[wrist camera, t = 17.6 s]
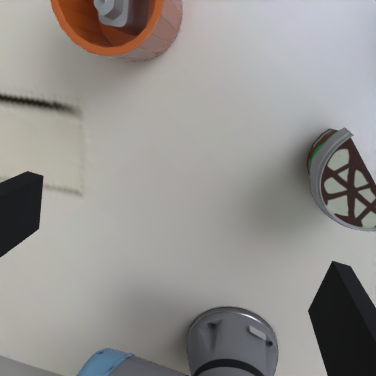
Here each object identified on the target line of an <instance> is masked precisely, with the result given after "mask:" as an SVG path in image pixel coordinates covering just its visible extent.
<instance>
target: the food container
mask: <svg viewBox="0 0 376 376" xmlns="http://www.w3.org/2000/svg"><path fill="white" fill-rule="evenodd" d="M352 136H354V135H353V134H351V133H350V131H349V130H347V129H346V128H345V127H344V128H343V129H341V130H339V131H338V130H334V129H329V130H327V131H326V132H324V133H323V134H321V135H320V136H319V138H318V139H317V140H316V141H315V142H314V143H313V145H312V147H311V149H310V151H309V153H308V159H307V168H308V173H309V175H310V188H311V192H312V196H313V198H314V200H315V202H316V204H317V205H318V207H319V208H320V209H321V210H322V211H323V212H324V213H325V214H326V215H327V216H328V217H330V218H331V219H332V220H334V221H336V222H337V223H339V224H341V225H343V226H345V227H348V228H351V229H355V230H361V231H373V232H374V231H376V184H375V182H374V180H373V179H372V177H371V175H370V173H369V171H368V170H367V168H366V166H365V164H364V162H363V160H362V158H361V156H360V154H359V152H358V150H357V149H356V147H355V145H354V143H353V141H352V139H351V137H352Z"/></svg>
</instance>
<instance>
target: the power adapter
mask: <svg viewBox="0 0 376 376" xmlns="http://www.w3.org/2000/svg"><path fill="white" fill-rule="evenodd" d="M94 6H95V7H96V9H97V10H98V11H99V14H98V15H99V20H100V22H101V23H103V24H105V25H107V26H110V27H112V28H114V29H117V30H119V31H121V32H124V33H126V34H131V35H136V36H138V35H139V34H140V33H141V32H142V31H143V30H144V29H145V28H146V24H147V15H148V7H149V0H94Z"/></svg>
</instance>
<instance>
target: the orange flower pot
mask: <svg viewBox="0 0 376 376" xmlns="http://www.w3.org/2000/svg"><path fill="white" fill-rule="evenodd" d="M51 5H52V9H53V11H54V13H55V15H56V18H57V20H58V22H59V24H60V26H61V28H62V29H63V30H64V31H65V32H66V34H67V35H68V36H69V37H70V38H71V40H72V41H73V42H74V43H76V44H77V45H79V46H81V47H82V48H84V49H85V50H87V51H88V52H91V53H95V54H99V55H102V56H107V57H112V58H117V59H123V60H128V61H134V62H135V61H147V60H151V59H153V58H155V57H157V56H159V55H161V54H162V53H163V52H165V51H166V50H167V49H168V48H169V47H170V45H171V44H172V43H173V41H174V39H175V38H176V36H177V34H178V31H179V28H180V25H181V19H182V1H181V0H149V7H148V15H147V24H146V28H145V29H144V30H143V31H142V32H141V33H140V34H139V35H138V36H136V35H131V34H126V33H124V32H121V31H119V30H117V29H114V28H112V27H110V26H107V25H105V24H103V23H101V22H100V20H99V15H98V14H99V11H98V10H97V9H96V7H95V6H94V0H51Z"/></svg>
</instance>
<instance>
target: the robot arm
mask: <svg viewBox="0 0 376 376" xmlns="http://www.w3.org/2000/svg"><path fill="white" fill-rule="evenodd" d="M42 187H43V176H42V175H39V174H35V173H32V172H29V171H27V172H25V173H22V174H20V175H18V176H15V177H13V178H11V179H8V180H6V181H4V182H1V183H0V257H2V256H3V255H4V254H6V253H7V252H8V251H10V250H11V249H12V248H14V247H15V246H17V245H18V244H19V243H21V242H22V241H23V240H25V239H26V238H27V237H29V236H30V235H31V234H33V233H34V232H35V231H37V230H38V229H39V223H40V211H41V199H42ZM308 312H309V316H310V319H311V322H312V325H313V329H314V332H315V335H316V339H317V342H318V345H319V349H320V352H321V355H322V358H323V362H324V365H325V368H326V372H327V375H328V376H376V308H375V306H374V304H373V303H372V301H371V299H370V298H369V296H368V294H367V293H366V291H365V289H364V288H363V286H362V285H361V283H360V281H359V280H358V278H357V276H356V275H355V273H354V271H353V270H352V268H351V266H348V265H345V264H341V263H338V262H335V261H332V263H331V265H330V267H329V269H328V271H327V273H326V275H325V277H324V279H323V281H322V283H321V285H320V287H319V290H318V292H317V294H316V296H315V298H314V300H313V302H312V304H311V306H310V308H309V310H308ZM187 356H188V361H189V367H190V372H191V376H274V374H275V370H276V366H277V362H278V345H277V339H276V336H275V333H274V332H273V330H272V328H271V327H270V326H269V324H268V323H267V322H266V321H265V320H263V319H262V318H261V317H259V316H258V315H256V314H254V313H252V312H250V311H247V310H244V309H240V308H234V307H221V308H216V309H212V310H209V311H207V312H205V313H203V314H202V315H200V316H199V317H198V318H196V320H195V321H194V322H193V323H192V325H191V327H190V329H189V332H188V337H187ZM77 376H188V375H186V374H183V373H180V372H178V371H175V370H172V369H169V368H166V367H164V366H161V365H158V364H155V363H152V362H150V361H147V360H144V359H142V358H139V357H136V356H135V355H134V354H132V353H129V354H127V353H124V352H120V351H117V350H113V349H109V348H105V349H101V350H99V351H97V352H96V353H95V354H94V355H93V356H92V357H90V359H89V360H88V361H87V362H86V363H85V365H84V366H83V367H82V369H81V370H80V371H79V373H78V374H77Z"/></svg>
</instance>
